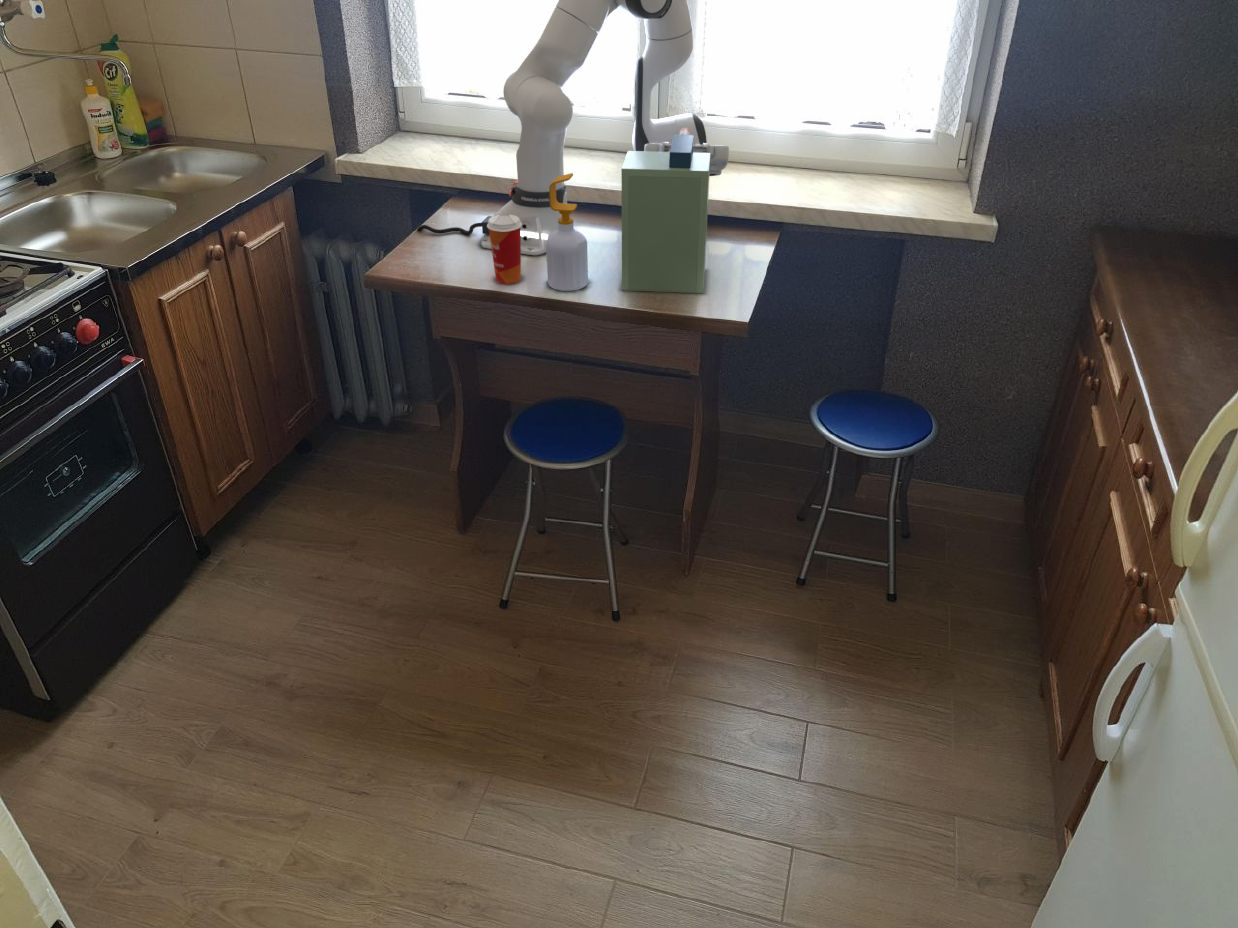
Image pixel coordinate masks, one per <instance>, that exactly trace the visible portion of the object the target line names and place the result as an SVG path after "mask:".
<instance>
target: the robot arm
mask: <svg viewBox="0 0 1238 928" xmlns="http://www.w3.org/2000/svg"><path fill="white" fill-rule="evenodd" d="M688 2H689V1H688V0H558V1H557V3H556V5H555V7H554V9H553V11H552V13H551V15H550V18H549V20H548V21H547V24H546V26H545V27H544V29H543V31H542V34H541V35H540V37H539V39H538V40H537V42H536V44H535V45H534V46H533V48H532V49H531V51H530V52H529V54H527V56H526V57H525V59H524V60H523V61H522V63H521V64H520V65H519V67H518V68H517V70H516V71H515V72H512V73H511V74H510V75H509V76H508V77H507V78H506V80H505V82H504V85H503V92H502V93H503V98H504V101H505V104H506V106H507V108H508V109H509V112H510V113H512V114H513V115H514V116H515V117H516V118H518V120H519V122H520V139H519V145H518V148H517V150H516V154H515V157H516V171H517V173H516V174H517V180H515V182H513V184H512V187H511V188H510V191H509V192H508V194H509V197H510V198H511V199H510V200H509V201H508V202H507V203H505V205H503V206H502V207H501V208H499V209H498V210H497V211H496V212H495V213H494V214H493V215H488V216H487V217H485V218H484V219H483V220H482V221H481V222H475V223H473V224H471V225H470V226H469V229H468V230H466V229H464V228H462V227H457V226H455V227H447V228H442V229H441V228H439V229H437V228H433V227H431V226H430V225H427V224H422V225H420V226H419V227H418V228H417V229H416V231H417V232H422V230H427V231H429V232H431V233H434V234H446V233H447V234H449V233H453V232H459V233H462V234H463V235H466V236H470V235H472V234H473V233H474V229H476V228H481V232H482V234H483V235H482V237H481V247H483V248H484V249H488V250H492V248H491V241H490V234H489V229H488V228H487V224H488V221H489V219H490V218H491V217H493V216H497V215H499V216H502V215H507V216H509V215H514V216H517V217H518V218H519V219H520V222H521V223H522V226H521V255H522V254H523V255H527V256H528V255H529V256H540V255H543V254H546V242H547V239H548V237H549V236H550V235H551V234H552V233H553V232H555V231H557V230H558V219H559V218H562V214H560V213H559V211H554V210H552V209H551V207H550V196H549V186H550V185H551V183H552V182H553V181H554V180H555V179H556V178H557V177H559V176H563V175H565V172H564V167H565V165H564V149H565V142H566V135H567V130H568V126H569V125H570V123H571V121H572V118H573V114H574V113H573V112H574V109H573V104H572V101H571V99H570V97H569V95H568V94H567V92H566V91H565V90H564V88H563V86H564V85H565V84H566V83H567V81H569V79H570V78H571V77H572V76H573V75H574V74H575V73H576V72H577V71H579V70H580V69H581V68H582V67H583V66H584V65H585V62H586V61H587V58H588V57H589V55H590V52H591V50H592V48H593V47H594V44H595V43H596V41H597V38H598V37H599V35H600V33H601V31H602V29H603V27H604V24H605V22H606V20H607V18H608V17H609V16H610V15H611V14H612V13H613V12H614V11H615V10H616V9H617V10H618V11H619V12H621V13H623V14H626V15H629V16H632V17H635V18H637V19H639V20H640V19H641V20H643V22H644V30H645V37H646V38H645V39H646V43H645V48H644V51H643V54H642V55H641V56H640V57H639V58H637V61H636V64H635V65H636V66H635V76H634V77H635V79H634V114H633V115H634V126H633V131H632V139H631V141H632V148H633V151H653V152H670V148H671V144H672V139H673V135H679V134H680V131H681V129H683V128H687V129H689V130H690V135H692V136H694V143H693V153H710V174H709V177H716V176H717V177H718V176H721V175H722V171H723V170H724V169H726V167H727V166H728V163H729V157H730V156H729V155H730V147H729V146H728V145H723V144H722V145H721V144H719V145H718V144H710V143H708V142H707V141H708V139H707V133H706V128H705V125H704V122H703V121H702V120H701V118H700V117H699V116H698V115H696V114H695V113H693V112H690V113H683V114H677V115H674V116H667V117H662V118H657V119H653V118H651V104H652V103H651V98H652V91H653V89H654V87H655V86H656V85H657V84H658V83H659V82H661V81H662V80H663V79H665V78H667V77H668V76H669V75H672V74H673V73H675V72H677V71H678V70H680V68H681V67H683V66H684V65H685V64H686V63H687V62H688V61H689V59H690V57H691V55H692V53H693V50H694V31H693V23H692V17H691V11H690V6H689V3H688ZM556 199H557V201H558V203H567V204H568V192H567V185H566V183H565V181H564V182H561V183H557V184H556Z"/></svg>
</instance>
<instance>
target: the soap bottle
mask: <svg viewBox="0 0 1238 928" xmlns="http://www.w3.org/2000/svg"><path fill="white" fill-rule="evenodd" d="M573 176H574V173H573V172H570V173H568V174H564V175H563V176H559V177H557V178H556V179H555V180H554V181H553V182H552V183H551V185H550V186H549V196H550V207H551V209H552V210H554V211H559V213H560V214H562V218H559V219H558V230H557V231H555V232H553V233H552V234H551V235H550V236H549V237H548V239H547V242H546V253H545V255H546V271H547V274H546V275H547V285H548V286H549V288H552V289H554V290H557V291H562V292H571V291H572V292H573V291H574V292H575V291H578V290H581V289H583V288H585V287H586V286H587V285H589V284H588V283H589V268H588V267H589V264H588V263H589V261H588V240H587V238H586V236H585V235H584V234H583V233H582V232H580V231H579V230H577V229H575V228H574V226H575V225H574V218H573V217H571V216H570V215H571V214H573V212H575V210H576V209H577V208H578V204H577V203H568V202H567V203H558V201H557V199H556V184H557V183H561V182H564V183H565V182H567V181H569V180H571V179H572V178H573Z"/></svg>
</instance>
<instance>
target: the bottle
mask: <svg viewBox="0 0 1238 928" xmlns="http://www.w3.org/2000/svg"><path fill="white" fill-rule="evenodd" d="M693 143H694V136H692V135H690V130H689V129H687V128H683V129H681V131H680V134H679V135H673V139H672V144H671V148H670V158H669V168H691V162H692V155H693Z"/></svg>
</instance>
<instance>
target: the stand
mask: <svg viewBox="0 0 1238 928" xmlns="http://www.w3.org/2000/svg"><path fill="white" fill-rule="evenodd" d="M669 158H670V152H653V151H634V150H627V152H626V155H625V157H624V160H623V164H622V166H621V291H633V292H657V293H659V292H661V293H685V294H704V284H705V272H706V255H707V233H708V215H709V214H708V213H709V194H710V193H709V192H710V191H709V190H710V176H709V174H710V153H693V155H692V162H691V168H669Z"/></svg>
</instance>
